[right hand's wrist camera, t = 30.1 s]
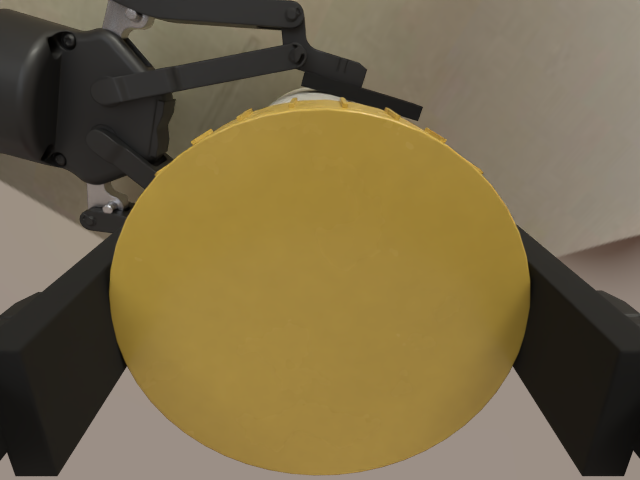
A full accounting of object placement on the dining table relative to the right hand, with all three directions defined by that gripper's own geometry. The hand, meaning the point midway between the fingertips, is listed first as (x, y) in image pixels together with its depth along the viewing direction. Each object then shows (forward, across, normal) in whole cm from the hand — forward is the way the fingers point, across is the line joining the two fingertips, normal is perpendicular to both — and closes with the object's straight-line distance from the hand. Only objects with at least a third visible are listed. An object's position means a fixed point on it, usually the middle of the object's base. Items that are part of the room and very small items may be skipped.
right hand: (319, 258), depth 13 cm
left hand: (+13, -4, +2) cm, 14 cm away
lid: (-3, 0, 0) cm, 3 cm away
